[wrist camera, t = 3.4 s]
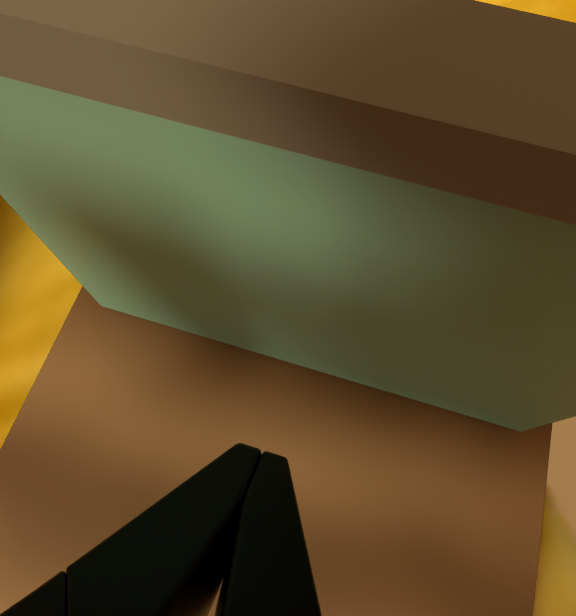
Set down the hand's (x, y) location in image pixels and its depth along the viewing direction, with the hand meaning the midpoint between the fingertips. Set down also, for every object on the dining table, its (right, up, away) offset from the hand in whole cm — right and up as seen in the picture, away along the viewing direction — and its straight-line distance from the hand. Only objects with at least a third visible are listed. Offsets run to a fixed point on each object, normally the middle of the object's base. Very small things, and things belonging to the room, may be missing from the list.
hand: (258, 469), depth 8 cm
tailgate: (+1, +2, +8) cm, 8 cm away
